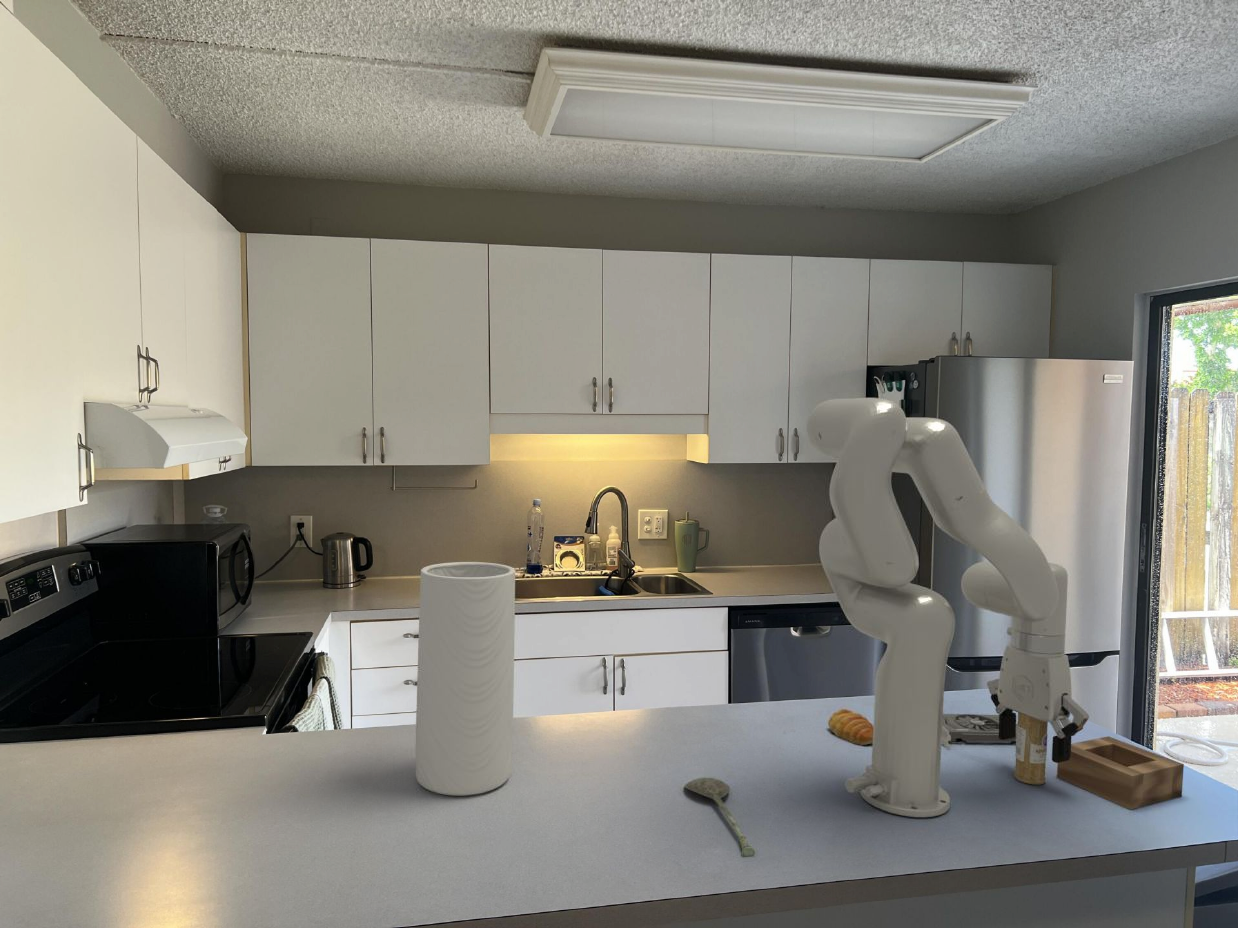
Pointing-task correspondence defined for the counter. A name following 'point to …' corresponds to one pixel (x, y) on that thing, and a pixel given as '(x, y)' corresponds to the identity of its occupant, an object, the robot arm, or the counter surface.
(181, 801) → the counter surface
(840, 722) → the pastry
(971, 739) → the graphics card
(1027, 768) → the sprinkles bottle
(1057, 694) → the robot arm
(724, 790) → the soupspoon
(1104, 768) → the walnut holder
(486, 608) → the vase
